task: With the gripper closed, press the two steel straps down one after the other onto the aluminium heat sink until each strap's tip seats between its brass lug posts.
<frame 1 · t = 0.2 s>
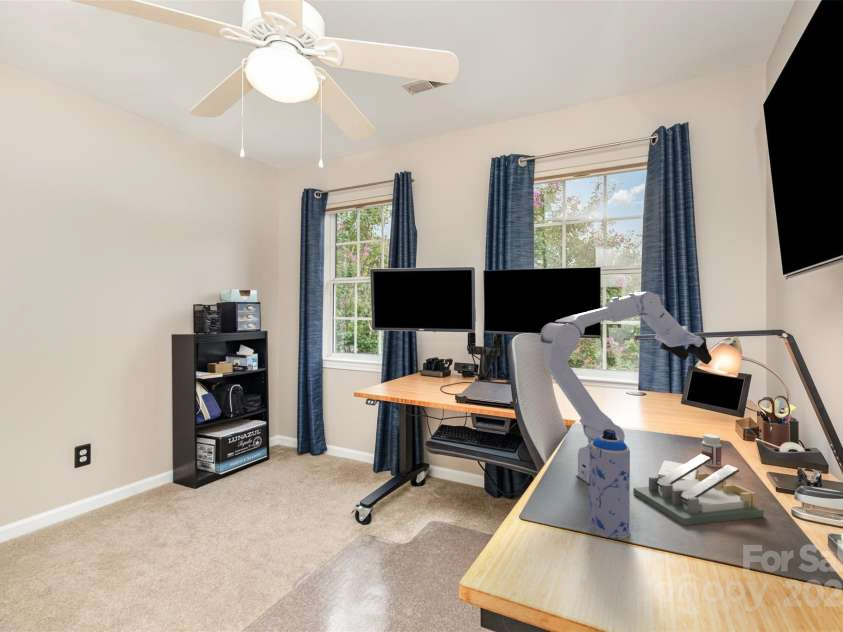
hand: (697, 359, 112), 31 cm above the table, tool tilted 45°, fingers open, 7 cm apart
strap front: (709, 483, 90), point 6 cm above the table, hinge at 25.0°
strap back: (683, 471, 97), point 6 cm above the table, hinge at 25.0°
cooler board: (694, 504, 94), on the table
pill bottle: (711, 465, 119), on the table
external hard drive: (677, 476, 112), on the table
aerosol can: (608, 529, 83), on the table
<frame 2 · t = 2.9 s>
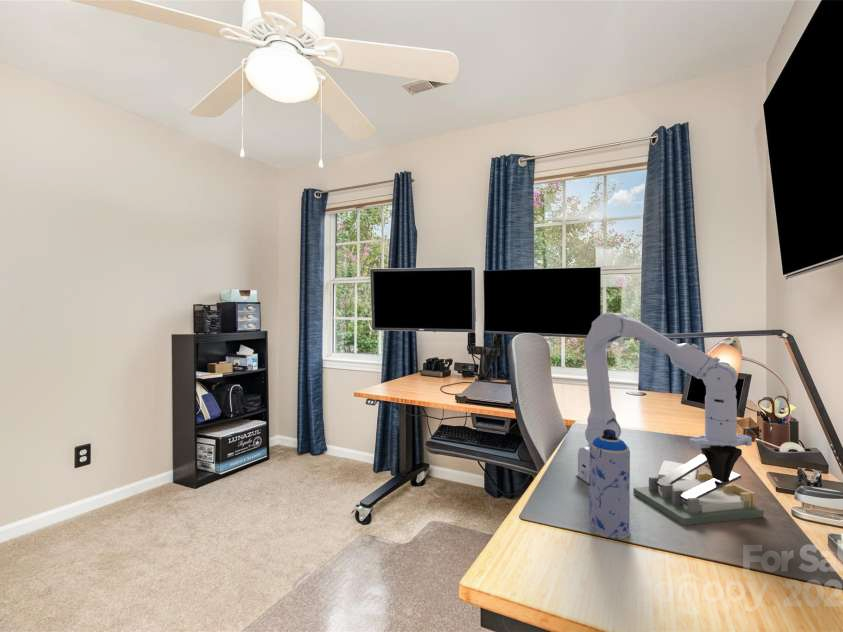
hand: (720, 479, 91), 7 cm above the table, tool pointing down, fingers closed
strap front: (710, 486, 90), point 6 cm above the table, hinge at 18.6°, touching gripper
everything else where it was.
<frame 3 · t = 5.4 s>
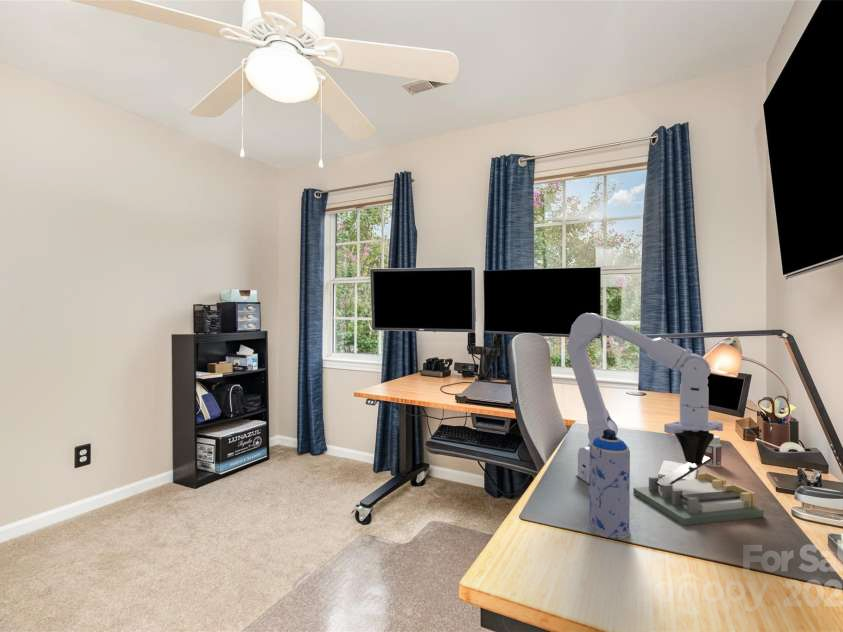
hand: (693, 461, 98), 8 cm above the table, tool pointing down, fingers closed
strap front: (712, 496, 91), point 3 cm above the table, hinge at -0.9°, touching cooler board
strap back: (683, 471, 97), point 6 cm above the table, hinge at 24.6°, touching gripper
everything else where it was.
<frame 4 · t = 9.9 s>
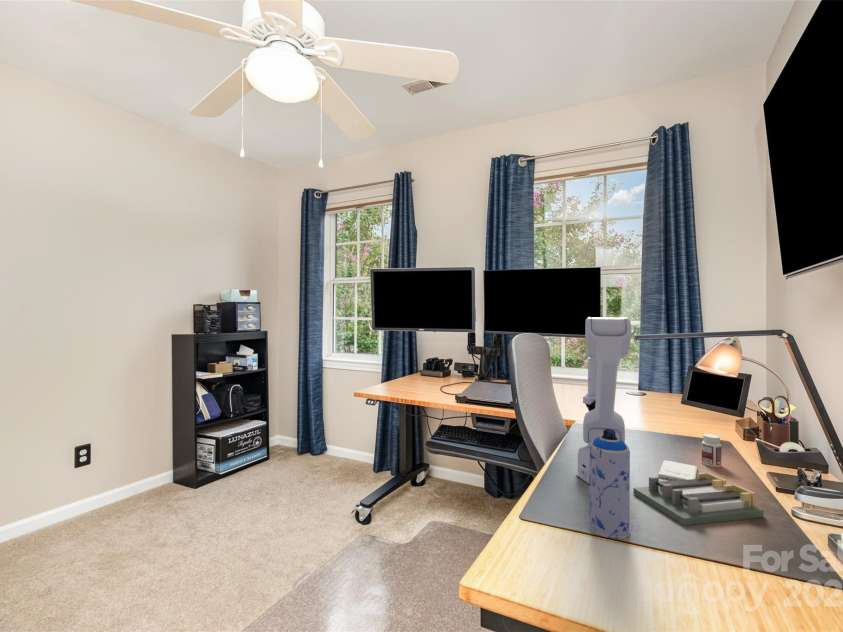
hand: (597, 424, 123), 10 cm above the table, tool pointing down, fingers closed
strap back: (685, 483, 97), point 3 cm above the table, hinge at -0.9°, touching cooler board
everything else where it was.
at the end: strap front at -1° (first picture: +25°); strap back at -1° (first picture: +25°) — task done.
